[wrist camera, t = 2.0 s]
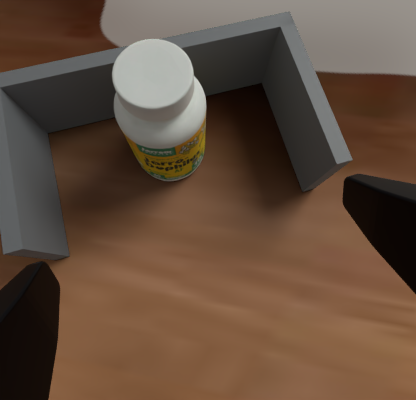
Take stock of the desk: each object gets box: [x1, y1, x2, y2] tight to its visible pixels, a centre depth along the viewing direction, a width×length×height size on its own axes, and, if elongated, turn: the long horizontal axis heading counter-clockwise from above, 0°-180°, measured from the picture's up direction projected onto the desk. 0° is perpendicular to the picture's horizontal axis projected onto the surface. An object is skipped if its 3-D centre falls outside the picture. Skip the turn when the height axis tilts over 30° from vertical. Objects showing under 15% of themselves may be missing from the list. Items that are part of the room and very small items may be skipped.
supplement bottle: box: [112, 39, 206, 181], centre depth 19 cm, size 5×5×10 cm
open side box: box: [0, 12, 352, 260], centre depth 21 cm, size 11×20×6 cm, turn 106°
